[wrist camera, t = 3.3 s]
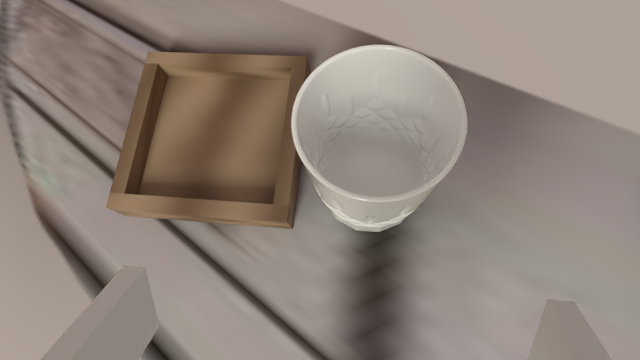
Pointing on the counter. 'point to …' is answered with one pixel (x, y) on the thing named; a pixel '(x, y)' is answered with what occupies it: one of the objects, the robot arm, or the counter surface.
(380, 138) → the white cup
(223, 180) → the walnut coaster tray
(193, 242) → the counter surface
